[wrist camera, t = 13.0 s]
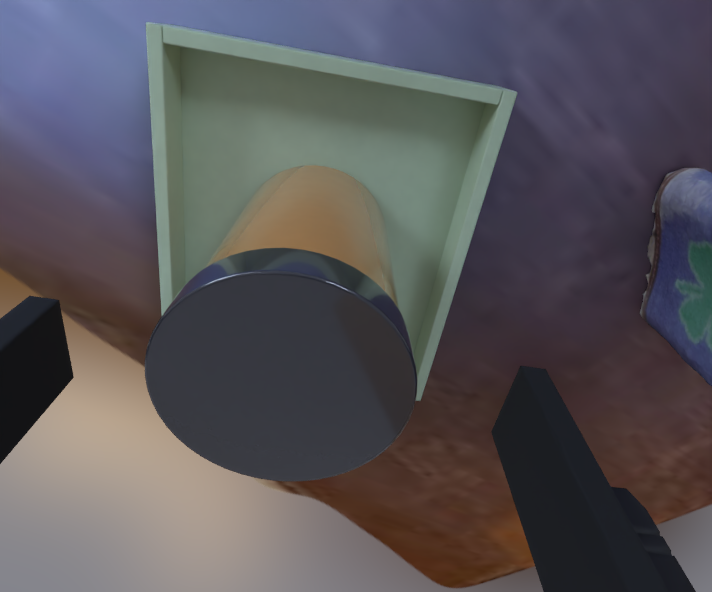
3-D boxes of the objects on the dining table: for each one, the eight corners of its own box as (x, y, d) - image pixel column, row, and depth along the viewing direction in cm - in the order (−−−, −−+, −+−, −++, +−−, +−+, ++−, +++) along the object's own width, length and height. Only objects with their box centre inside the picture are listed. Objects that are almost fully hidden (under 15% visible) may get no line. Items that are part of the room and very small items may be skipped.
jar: (405, 175, 21) (449, 296, 11) (375, 311, 25) (387, 494, 15) (242, 147, 20) (132, 249, 10) (236, 291, 24) (151, 468, 14)
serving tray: (500, 86, 20) (518, 92, 17) (415, 373, 28) (420, 401, 25) (169, 23, 19) (144, 21, 16) (179, 341, 26) (164, 368, 24)
